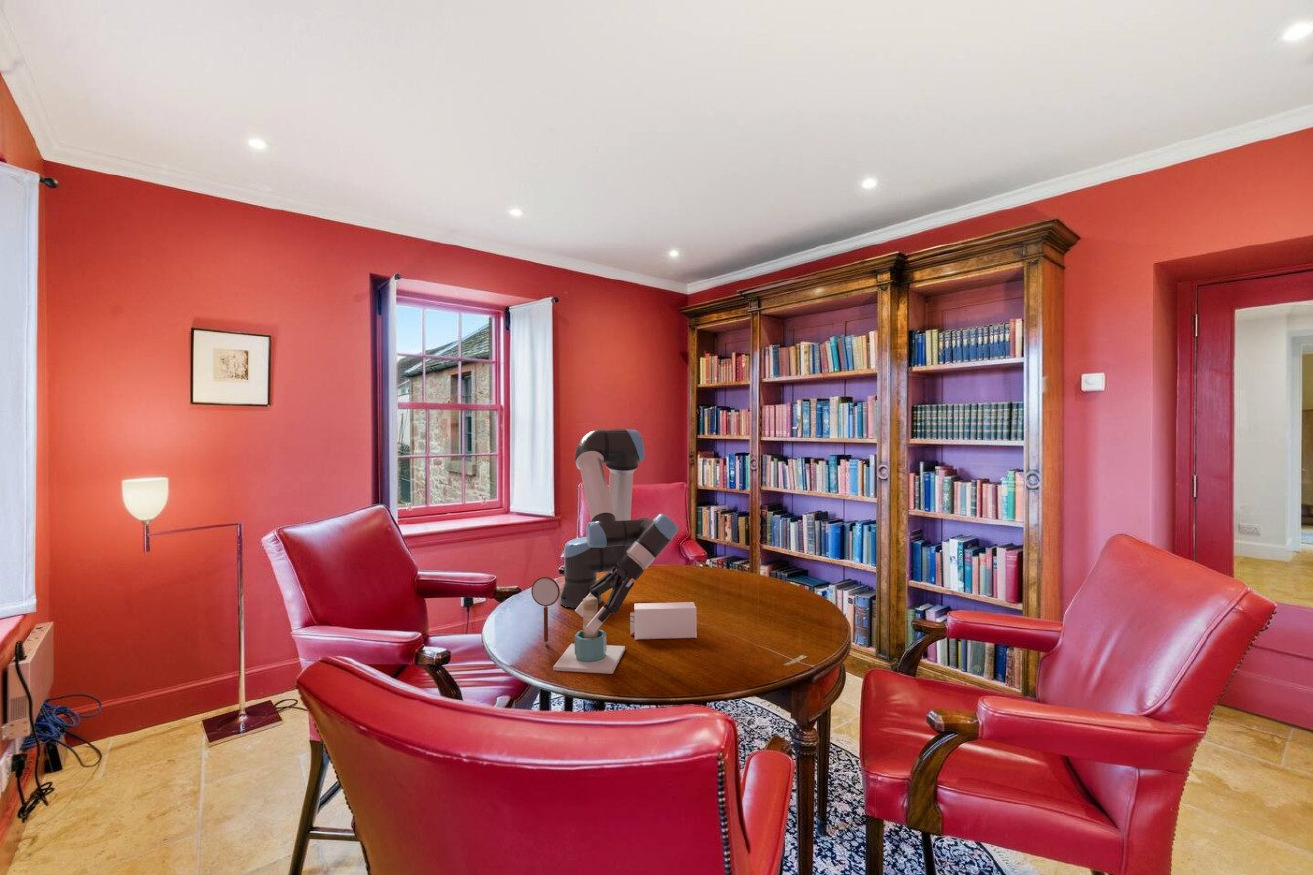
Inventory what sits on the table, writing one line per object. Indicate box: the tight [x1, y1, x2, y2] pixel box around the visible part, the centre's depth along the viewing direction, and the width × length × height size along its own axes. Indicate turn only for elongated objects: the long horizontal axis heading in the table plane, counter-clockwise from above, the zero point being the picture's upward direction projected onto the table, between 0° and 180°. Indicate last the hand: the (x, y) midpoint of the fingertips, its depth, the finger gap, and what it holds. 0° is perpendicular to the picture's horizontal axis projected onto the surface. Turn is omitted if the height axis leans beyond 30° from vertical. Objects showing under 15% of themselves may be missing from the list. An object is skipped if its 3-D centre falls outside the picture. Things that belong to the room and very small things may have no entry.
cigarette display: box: [629, 601, 698, 641], centre depth 170 cm, size 20×6×9 cm, turn 93°
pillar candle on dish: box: [582, 597, 599, 639], centre depth 152 cm, size 5×5×15 cm
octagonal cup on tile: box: [552, 628, 626, 675], centre depth 152 cm, size 16×16×7 cm
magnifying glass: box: [531, 576, 561, 645], centre depth 164 cm, size 9×2×20 cm, turn 82°
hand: (583, 621), depth 152 cm, fingers open, 13 cm apart
